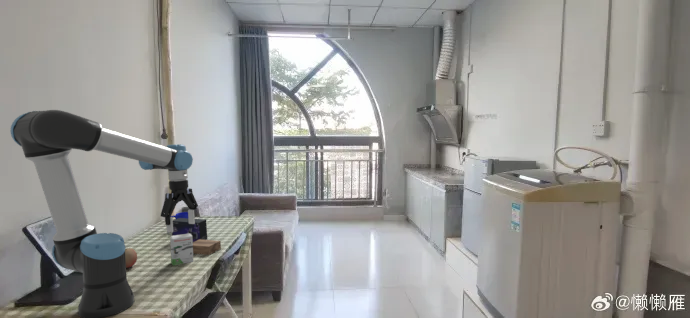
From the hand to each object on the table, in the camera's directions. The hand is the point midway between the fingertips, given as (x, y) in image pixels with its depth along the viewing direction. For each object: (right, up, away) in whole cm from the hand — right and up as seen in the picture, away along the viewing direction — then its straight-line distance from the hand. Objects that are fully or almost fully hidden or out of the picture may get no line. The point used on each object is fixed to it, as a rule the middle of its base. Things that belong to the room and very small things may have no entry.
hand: (181, 227), depth 156 cm
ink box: (0, -16, +1) cm, 16 cm away
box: (-9, -14, +30) cm, 35 cm away
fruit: (-21, -16, -5) cm, 27 cm away
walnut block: (+4, -14, +15) cm, 21 cm away
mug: (-25, -12, +53) cm, 60 cm away
